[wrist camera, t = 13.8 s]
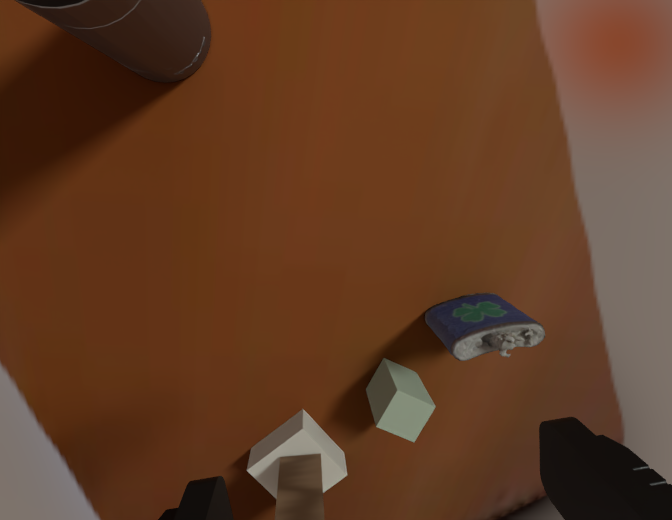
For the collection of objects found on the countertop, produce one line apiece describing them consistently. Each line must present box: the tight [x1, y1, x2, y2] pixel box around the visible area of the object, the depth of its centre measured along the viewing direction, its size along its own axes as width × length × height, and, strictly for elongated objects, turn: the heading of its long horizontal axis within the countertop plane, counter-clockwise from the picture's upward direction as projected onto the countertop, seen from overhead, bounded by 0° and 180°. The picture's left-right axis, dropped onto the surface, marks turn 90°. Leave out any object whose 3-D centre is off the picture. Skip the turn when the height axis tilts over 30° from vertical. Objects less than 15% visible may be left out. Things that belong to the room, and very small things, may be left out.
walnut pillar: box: [275, 454, 324, 520], centre depth 39 cm, size 4×4×10 cm
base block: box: [247, 409, 347, 499], centre depth 46 cm, size 8×8×4 cm
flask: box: [425, 293, 545, 361], centre depth 40 cm, size 9×3×11 cm, turn 101°
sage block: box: [366, 358, 436, 442], centre depth 43 cm, size 4×4×7 cm
